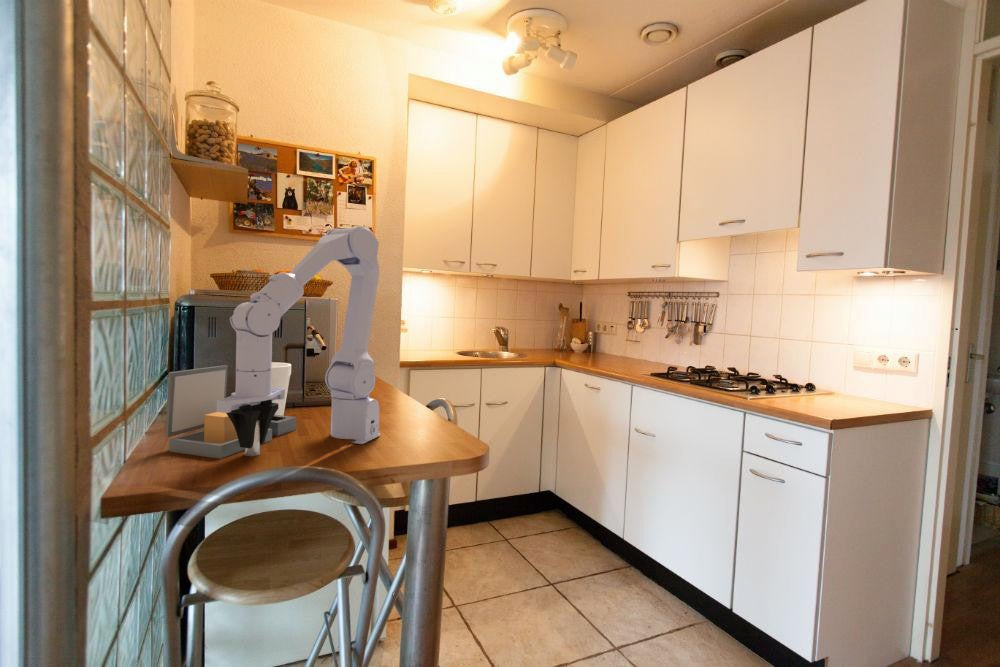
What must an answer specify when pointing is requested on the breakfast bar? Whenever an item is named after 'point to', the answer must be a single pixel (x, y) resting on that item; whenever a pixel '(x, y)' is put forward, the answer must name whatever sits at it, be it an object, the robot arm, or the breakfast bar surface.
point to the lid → (193, 397)
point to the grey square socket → (282, 424)
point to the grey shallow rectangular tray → (206, 445)
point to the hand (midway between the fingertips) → (252, 445)
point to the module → (218, 428)
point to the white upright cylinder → (255, 442)
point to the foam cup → (280, 382)
